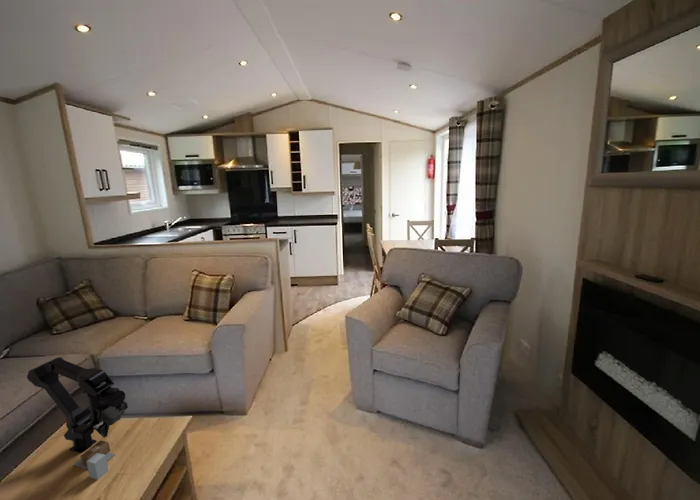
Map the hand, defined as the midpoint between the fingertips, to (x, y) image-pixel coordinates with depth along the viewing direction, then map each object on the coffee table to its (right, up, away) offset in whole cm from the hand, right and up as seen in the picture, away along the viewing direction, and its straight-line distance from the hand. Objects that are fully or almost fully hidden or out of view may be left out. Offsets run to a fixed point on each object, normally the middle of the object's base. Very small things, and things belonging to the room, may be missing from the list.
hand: (105, 436), depth 135 cm
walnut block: (0, -4, 0) cm, 4 cm away
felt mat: (-1, -7, -4) cm, 8 cm away
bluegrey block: (+5, -8, -10) cm, 14 cm away
